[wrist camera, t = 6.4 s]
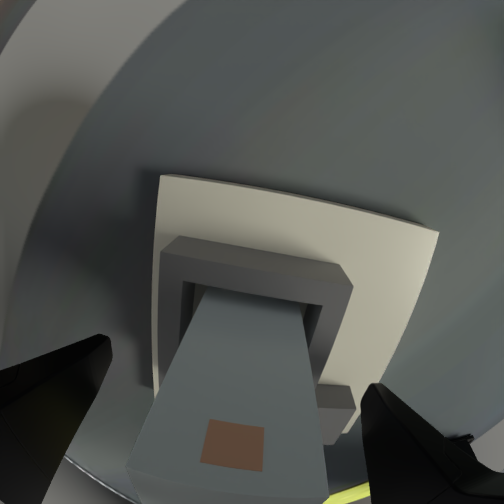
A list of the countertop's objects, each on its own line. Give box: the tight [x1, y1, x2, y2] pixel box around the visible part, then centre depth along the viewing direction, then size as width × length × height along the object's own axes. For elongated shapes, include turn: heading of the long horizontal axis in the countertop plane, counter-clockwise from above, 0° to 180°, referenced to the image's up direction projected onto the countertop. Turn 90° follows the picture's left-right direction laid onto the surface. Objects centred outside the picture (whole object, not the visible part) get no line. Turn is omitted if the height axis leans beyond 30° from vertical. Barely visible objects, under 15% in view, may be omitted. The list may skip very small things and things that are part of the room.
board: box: [151, 174, 439, 445], centre depth 11 cm, size 12×11×3 cm
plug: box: [125, 286, 329, 504], centre depth 7 cm, size 4×3×8 cm
